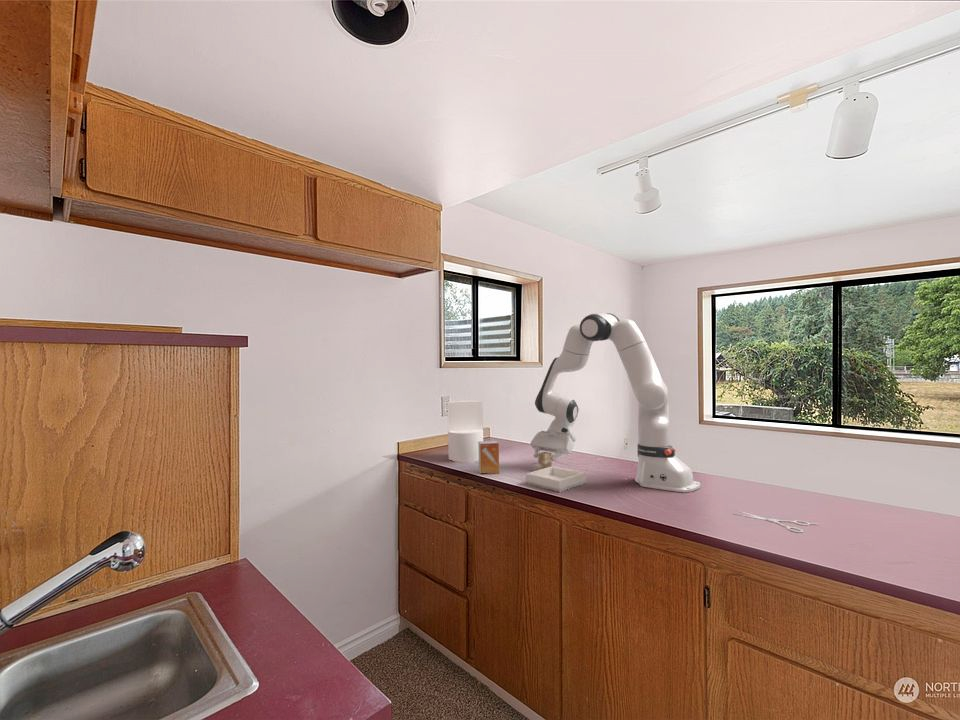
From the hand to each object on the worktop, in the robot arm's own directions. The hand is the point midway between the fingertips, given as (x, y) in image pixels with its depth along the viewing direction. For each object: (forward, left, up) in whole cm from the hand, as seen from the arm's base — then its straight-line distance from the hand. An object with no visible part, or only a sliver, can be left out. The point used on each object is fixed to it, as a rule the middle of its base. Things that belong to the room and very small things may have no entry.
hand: (543, 458), depth 188 cm
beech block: (0, -1, -5) cm, 5 cm away
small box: (+16, +17, -6) cm, 24 cm away
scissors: (-84, +1, -6) cm, 84 cm away
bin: (-16, +12, -5) cm, 21 cm away
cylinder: (+44, +6, -5) cm, 45 cm away
